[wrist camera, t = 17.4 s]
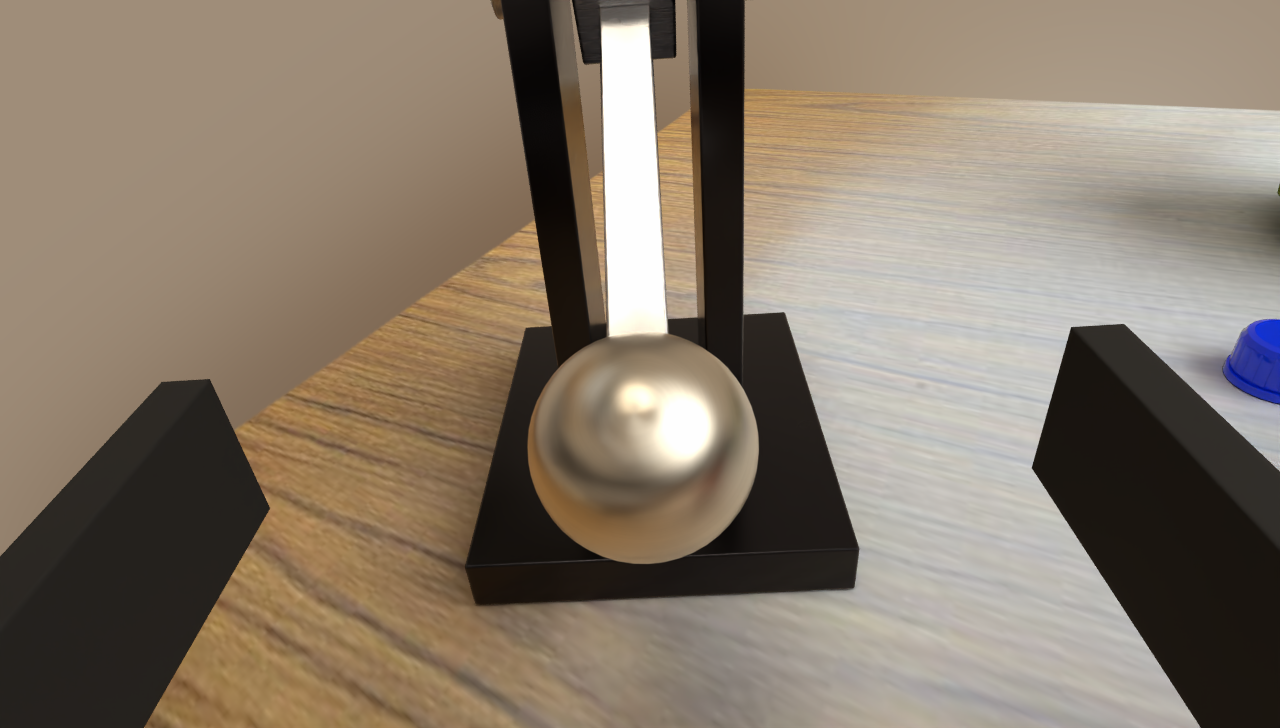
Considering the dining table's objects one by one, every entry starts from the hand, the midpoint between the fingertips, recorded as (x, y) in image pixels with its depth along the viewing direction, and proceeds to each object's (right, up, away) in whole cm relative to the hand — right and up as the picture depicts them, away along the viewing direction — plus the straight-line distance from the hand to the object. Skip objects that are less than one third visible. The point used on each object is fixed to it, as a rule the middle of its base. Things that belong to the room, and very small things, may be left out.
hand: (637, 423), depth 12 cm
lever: (0, +4, +5) cm, 6 cm away
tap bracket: (+1, -2, +13) cm, 13 cm away
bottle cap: (+22, 0, +14) cm, 26 cm away
